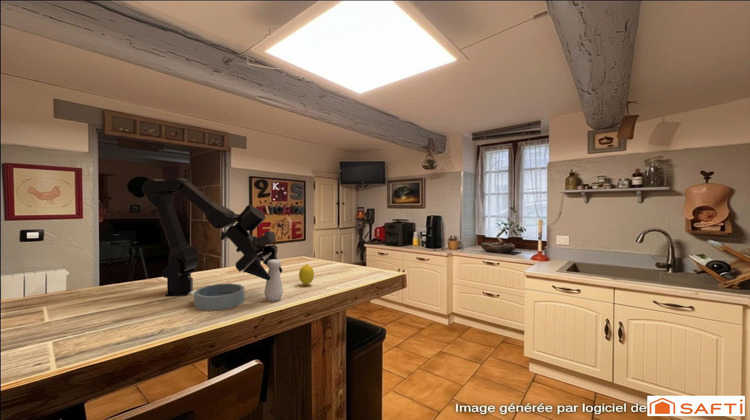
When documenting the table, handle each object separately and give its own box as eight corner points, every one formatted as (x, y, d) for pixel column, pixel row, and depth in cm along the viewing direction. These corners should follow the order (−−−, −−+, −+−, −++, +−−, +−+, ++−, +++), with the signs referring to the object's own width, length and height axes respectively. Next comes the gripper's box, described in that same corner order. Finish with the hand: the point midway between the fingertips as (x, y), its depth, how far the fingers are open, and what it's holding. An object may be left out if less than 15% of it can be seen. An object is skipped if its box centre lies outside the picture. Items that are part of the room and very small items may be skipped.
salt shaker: (263, 297, 104) (264, 258, 104) (281, 295, 107) (282, 257, 106) (265, 303, 99) (265, 262, 98) (283, 301, 101) (284, 261, 101)
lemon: (310, 288, 116) (310, 266, 115) (296, 286, 117) (296, 265, 117) (316, 283, 121) (316, 263, 121) (302, 282, 122) (302, 262, 122)
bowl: (188, 312, 90) (188, 298, 90) (202, 296, 104) (201, 284, 103) (240, 308, 94) (240, 295, 94) (246, 294, 107) (246, 282, 107)
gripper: (245, 226, 93) (281, 265, 92) (272, 221, 111) (302, 253, 111) (220, 252, 94) (255, 290, 93) (251, 242, 113) (280, 274, 112)
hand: (275, 275), depth 102 cm, fingers open, 9 cm apart
